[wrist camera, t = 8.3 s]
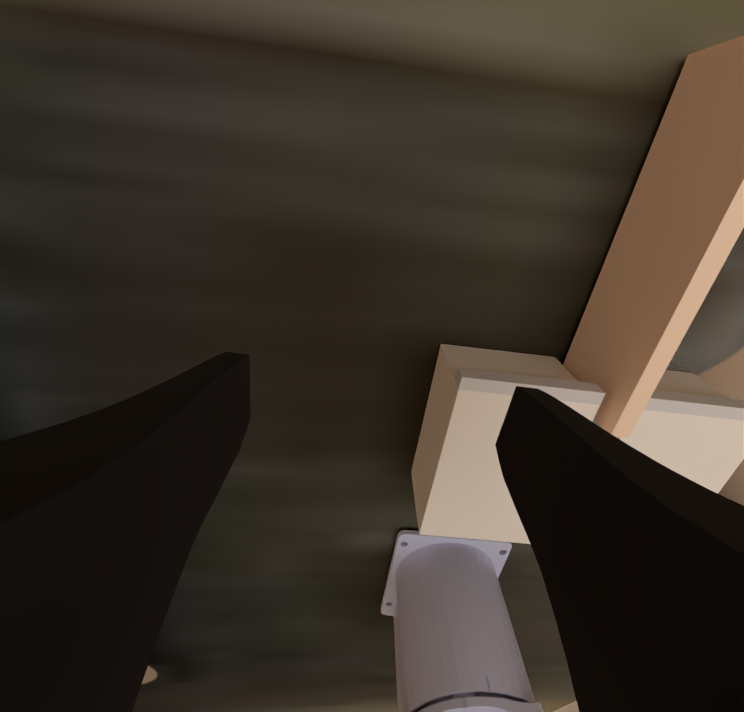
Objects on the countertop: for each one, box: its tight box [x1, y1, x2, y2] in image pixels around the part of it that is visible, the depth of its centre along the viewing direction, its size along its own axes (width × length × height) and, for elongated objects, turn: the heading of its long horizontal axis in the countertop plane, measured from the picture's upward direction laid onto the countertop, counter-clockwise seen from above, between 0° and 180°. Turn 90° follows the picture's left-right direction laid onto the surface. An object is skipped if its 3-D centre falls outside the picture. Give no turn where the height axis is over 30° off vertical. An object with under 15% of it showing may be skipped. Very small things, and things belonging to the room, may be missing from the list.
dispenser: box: [411, 344, 744, 544], centre depth 20 cm, size 10×14×4 cm
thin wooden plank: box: [563, 36, 744, 438], centre depth 15 cm, size 14×1×5 cm, turn 173°
